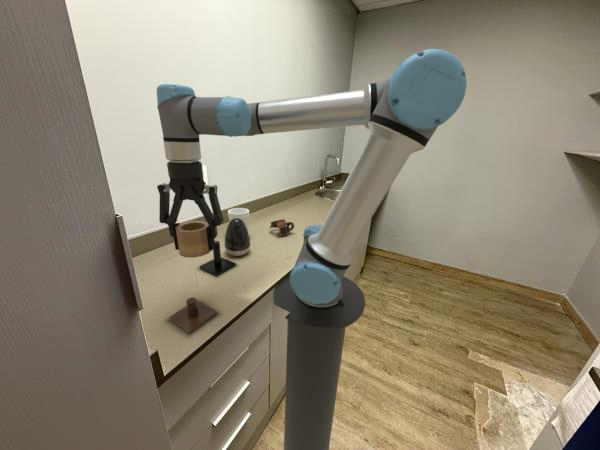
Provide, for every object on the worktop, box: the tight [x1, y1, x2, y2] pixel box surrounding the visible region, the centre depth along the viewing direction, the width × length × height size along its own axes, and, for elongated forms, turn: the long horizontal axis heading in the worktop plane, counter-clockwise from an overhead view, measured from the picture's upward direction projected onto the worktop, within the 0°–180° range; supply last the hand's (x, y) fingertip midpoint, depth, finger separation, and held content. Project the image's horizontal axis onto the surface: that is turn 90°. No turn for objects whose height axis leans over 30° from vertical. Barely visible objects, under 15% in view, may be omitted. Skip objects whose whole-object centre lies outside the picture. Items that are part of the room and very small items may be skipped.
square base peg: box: [198, 240, 237, 277], centre depth 87 cm, size 9×9×10 cm
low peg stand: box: [168, 297, 218, 335], centre depth 63 cm, size 8×8×6 cm
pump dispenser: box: [223, 218, 251, 257], centre depth 96 cm, size 10×10×15 cm
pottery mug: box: [269, 218, 295, 238], centre depth 120 cm, size 12×10×8 cm
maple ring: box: [175, 220, 211, 259], centre depth 64 cm, size 8×8×7 cm
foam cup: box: [227, 207, 250, 230], centre depth 112 cm, size 10×9×13 cm
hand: (195, 247), depth 65 cm, fingers closed on maple ring, 8 cm apart
